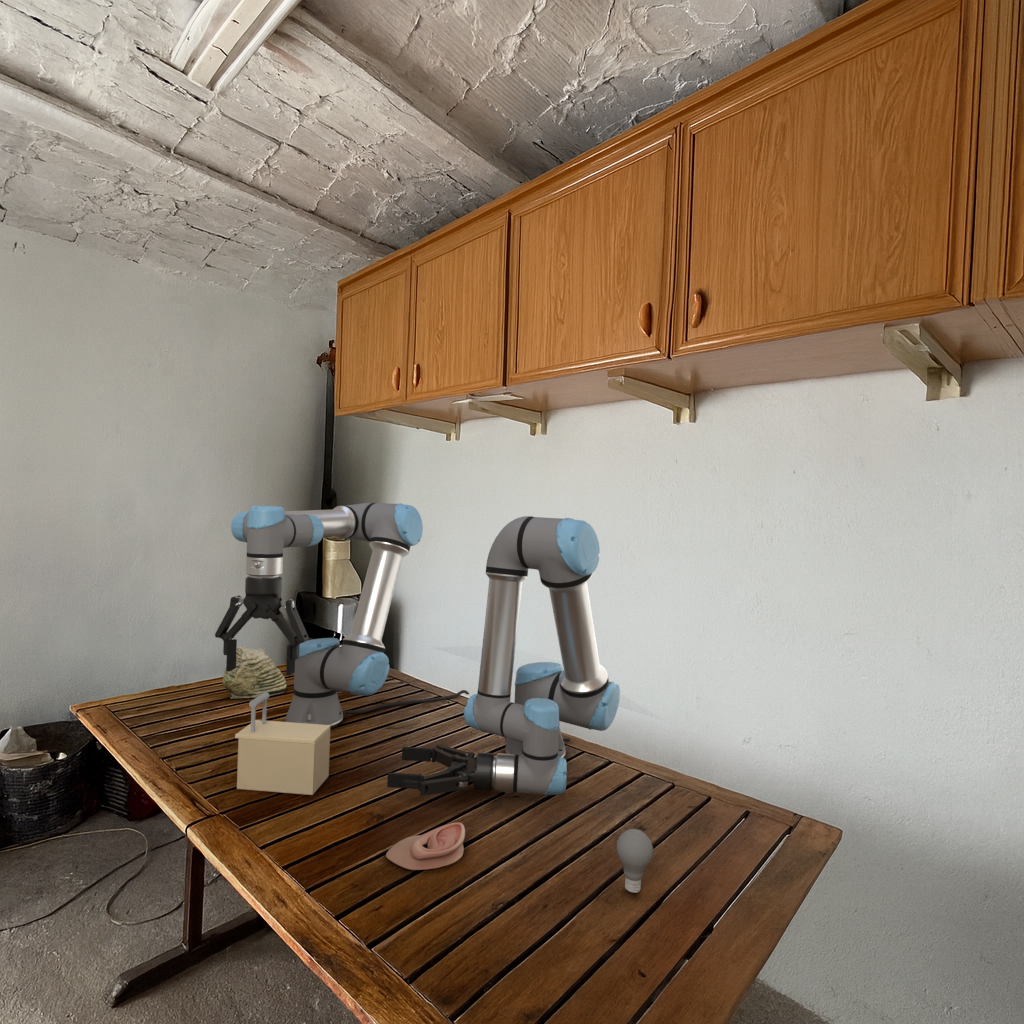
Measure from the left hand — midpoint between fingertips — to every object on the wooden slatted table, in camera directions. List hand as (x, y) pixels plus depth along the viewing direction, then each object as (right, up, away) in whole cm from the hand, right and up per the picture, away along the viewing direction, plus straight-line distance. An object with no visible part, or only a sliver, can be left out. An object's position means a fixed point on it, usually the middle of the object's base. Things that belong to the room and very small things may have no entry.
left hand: (260, 672), depth 140 cm
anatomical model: (+40, -26, -26) cm, 54 cm away
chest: (+5, -24, 0) cm, 25 cm away
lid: (+5, -13, 0) cm, 14 cm away
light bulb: (+76, -28, -34) cm, 88 cm away
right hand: (+30, -19, -4) cm, 36 cm away
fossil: (-25, -22, +58) cm, 67 cm away
